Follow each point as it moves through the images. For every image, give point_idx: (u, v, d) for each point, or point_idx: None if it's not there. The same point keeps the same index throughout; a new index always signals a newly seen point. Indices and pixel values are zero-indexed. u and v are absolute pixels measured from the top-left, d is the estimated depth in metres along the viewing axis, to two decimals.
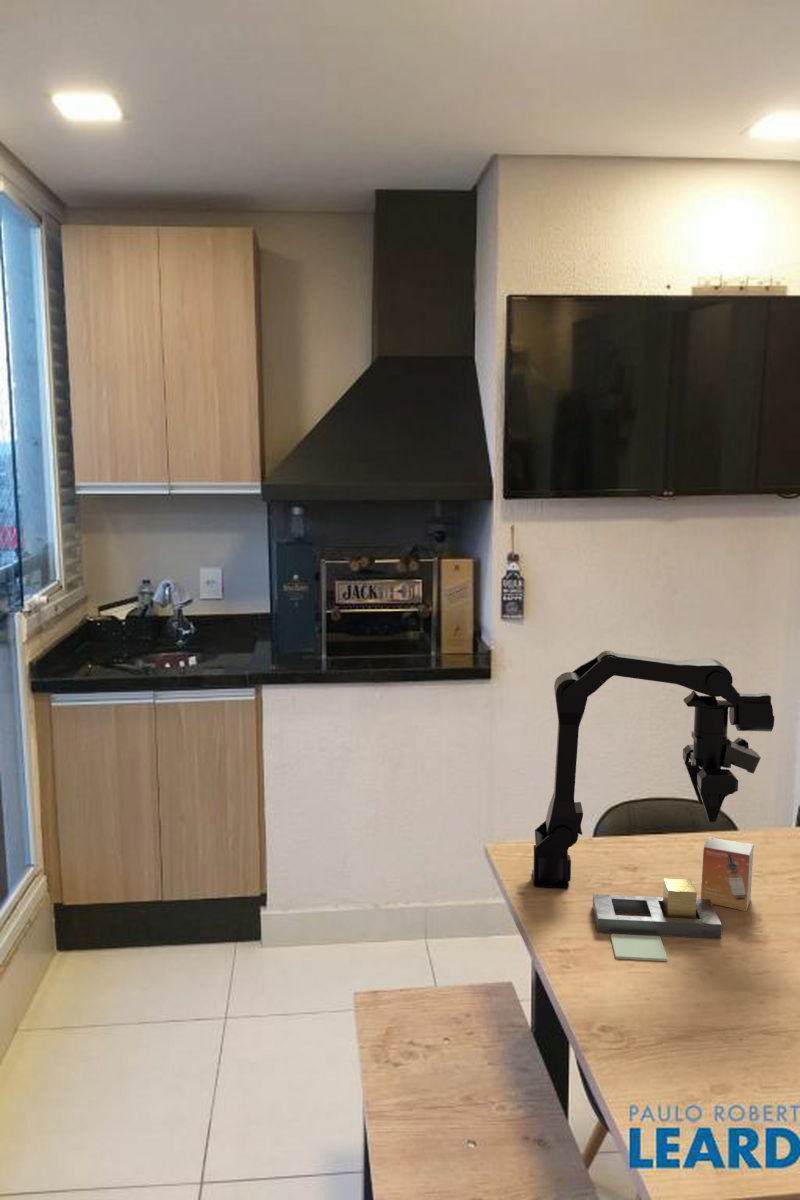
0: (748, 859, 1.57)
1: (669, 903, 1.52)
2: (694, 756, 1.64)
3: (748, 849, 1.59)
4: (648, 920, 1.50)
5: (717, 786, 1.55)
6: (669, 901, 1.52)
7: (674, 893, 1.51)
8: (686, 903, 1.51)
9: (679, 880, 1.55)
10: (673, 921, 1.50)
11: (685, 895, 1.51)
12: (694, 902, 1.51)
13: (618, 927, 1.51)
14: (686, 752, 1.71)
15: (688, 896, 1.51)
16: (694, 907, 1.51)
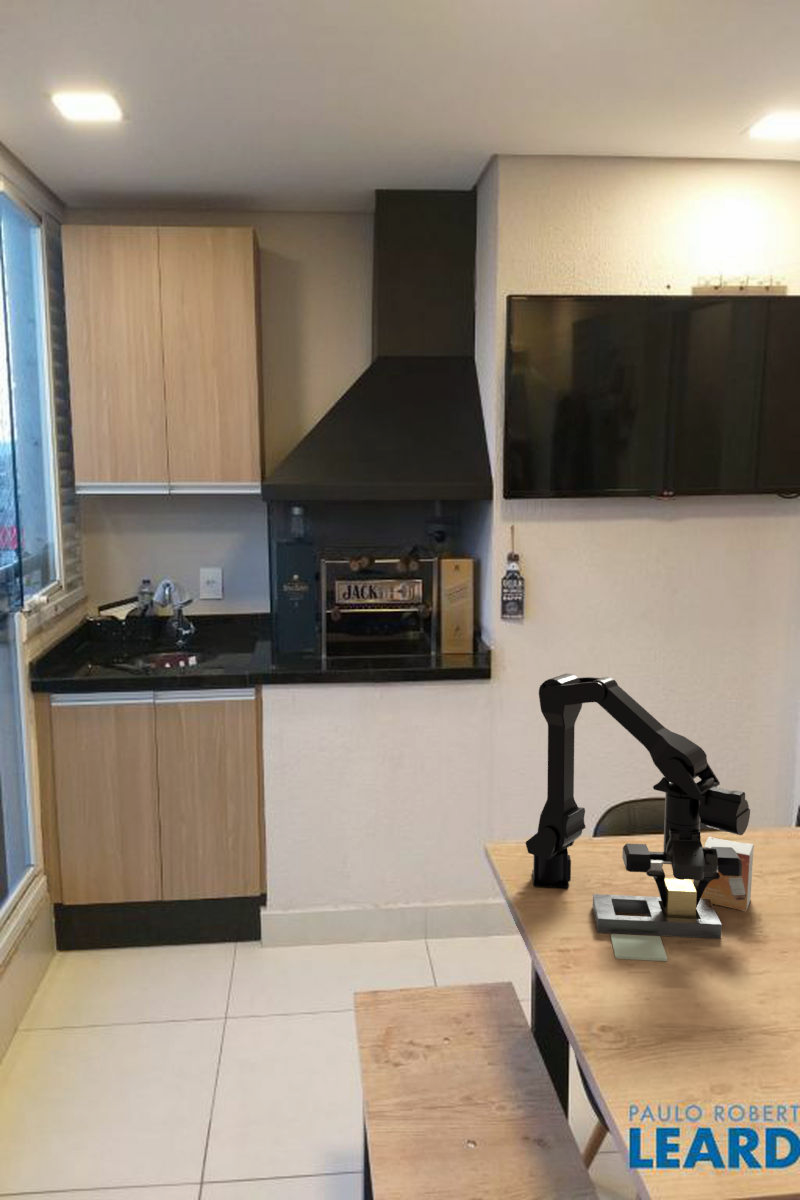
0: (748, 859, 1.57)
1: (669, 903, 1.52)
2: None
3: (748, 849, 1.59)
4: (648, 920, 1.50)
5: (624, 857, 1.54)
6: (669, 901, 1.52)
7: (674, 892, 1.51)
8: (686, 903, 1.51)
9: (679, 880, 1.55)
10: (673, 921, 1.50)
11: (685, 894, 1.51)
12: (694, 902, 1.51)
13: (618, 927, 1.51)
14: None
15: (688, 896, 1.51)
16: (694, 907, 1.51)
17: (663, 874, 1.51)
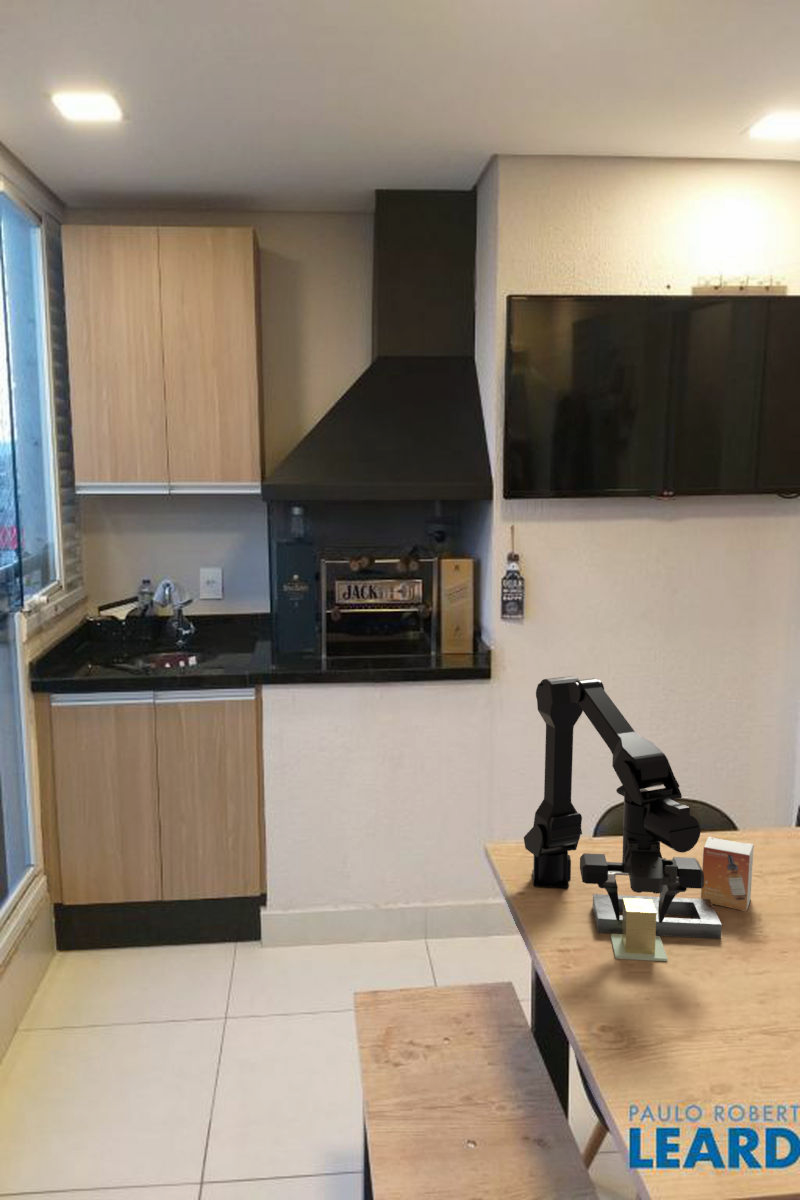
0: (748, 859, 1.57)
1: (627, 924, 1.44)
2: None
3: (748, 849, 1.59)
4: None
5: None
6: (627, 922, 1.44)
7: (632, 913, 1.43)
8: (645, 925, 1.43)
9: (639, 900, 1.47)
10: (673, 921, 1.50)
11: (644, 915, 1.43)
12: (653, 923, 1.43)
13: (618, 927, 1.51)
14: None
15: (647, 917, 1.43)
16: (654, 929, 1.43)
17: (615, 886, 1.43)
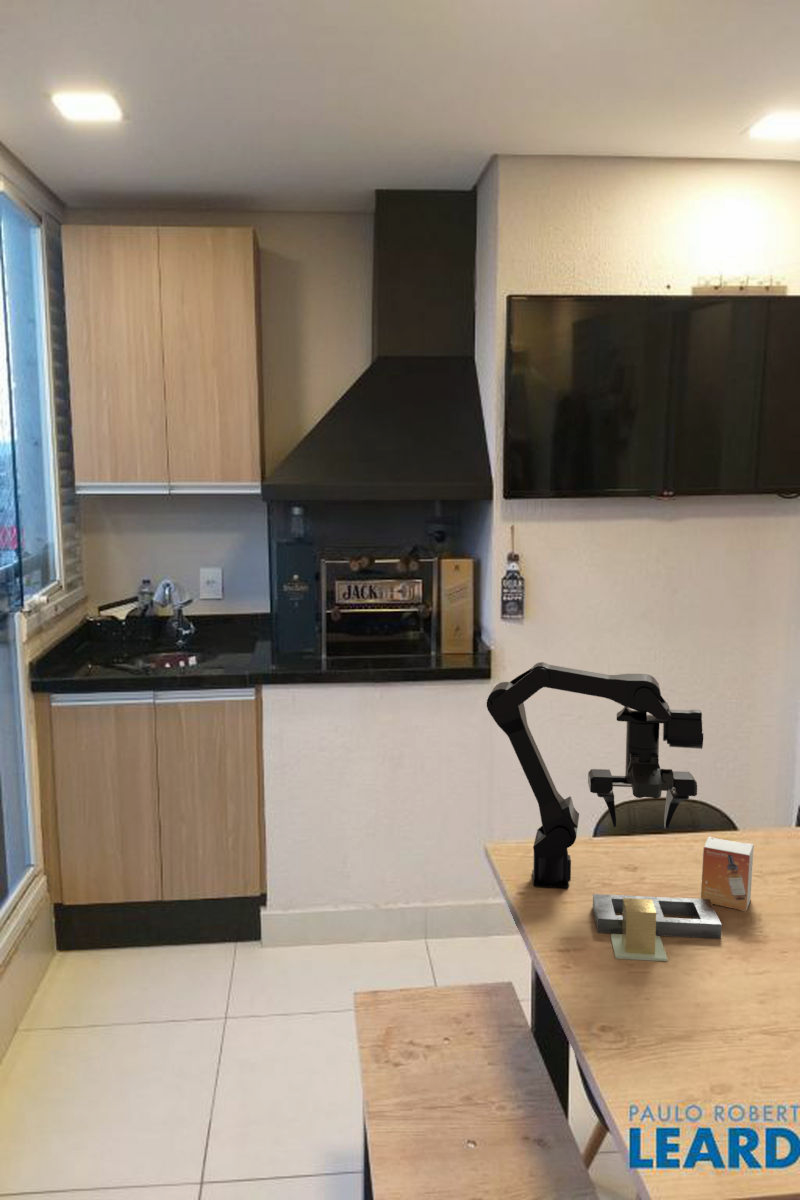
0: (748, 859, 1.57)
1: (627, 924, 1.44)
2: None
3: (748, 849, 1.59)
4: None
5: None
6: (627, 922, 1.44)
7: (632, 913, 1.43)
8: (645, 925, 1.43)
9: (639, 900, 1.47)
10: (673, 921, 1.50)
11: (644, 915, 1.43)
12: (653, 923, 1.43)
13: (618, 927, 1.51)
14: None
15: (647, 917, 1.43)
16: (654, 929, 1.43)
17: (612, 795, 1.63)
